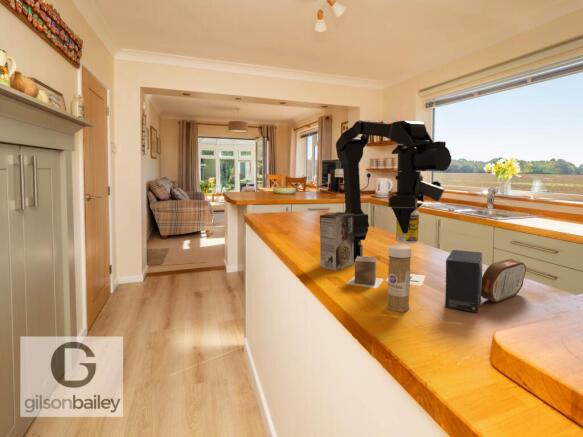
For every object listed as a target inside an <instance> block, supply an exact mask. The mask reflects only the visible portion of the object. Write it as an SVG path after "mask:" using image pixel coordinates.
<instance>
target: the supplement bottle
mask: <svg viewBox="0 0 583 437" xmlns="http://www.w3.org/2000/svg"><path fill="white" fill-rule="evenodd" d="M419 221H420V212H419V211H418V210H416V211H414V212H412V214H411V219H410V224H409V228H408V233H403V232H402V230H401V228H400V225H399V223H398V220H397V219H396V222H395V223H396V224H395V226H396V227H395V241H396V242H397V243H399V244H403V245H409V244H410V245H412V244H416V243H418V241H419V228H420V227H419V223H420V222H419Z"/></svg>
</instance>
